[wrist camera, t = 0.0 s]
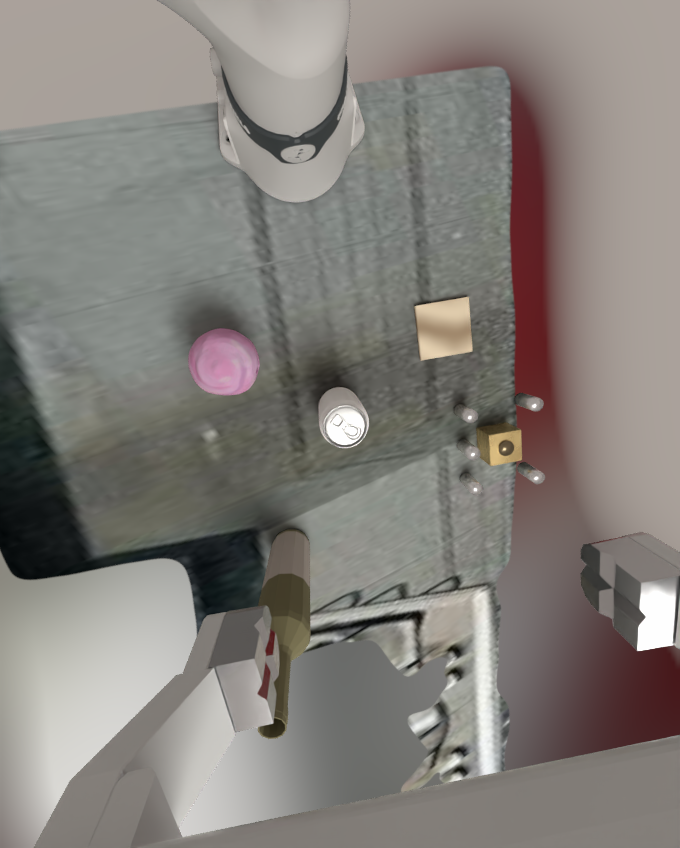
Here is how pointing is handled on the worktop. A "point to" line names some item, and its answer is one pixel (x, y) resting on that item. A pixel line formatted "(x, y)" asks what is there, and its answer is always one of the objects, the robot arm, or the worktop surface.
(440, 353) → the coaster
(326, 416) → the can
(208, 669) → the robot arm
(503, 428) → the cube with brass knob
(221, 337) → the cupcake
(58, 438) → the worktop surface
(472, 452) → the spacer posts
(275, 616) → the bottle
